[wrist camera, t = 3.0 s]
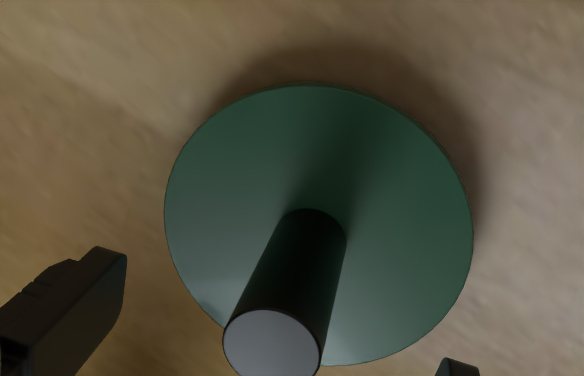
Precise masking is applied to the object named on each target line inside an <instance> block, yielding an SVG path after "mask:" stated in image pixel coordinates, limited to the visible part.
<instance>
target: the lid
mask: <svg viewBox="0 0 584 376" xmlns="http://www.w3.org/2000/svg"><path fill="white" fill-rule="evenodd" d="M164 225H165V234H166V239H167V244H168V248H169V251H170V254H171V257H172V260H173V263H174V266H175V268H176V270H177V272H178V274H179V276H180V278H181V280H182V282H183V283H184V285H185V287H186V288H187V290H188V291H189V293H190V294H191V296H192V297H193V298H194V299H195V301H196V302H197V303H198V304H199V306H200V307H201V308H202V309H203V310H204V311H205V312H206V313H207V314H208V315H209V316H210V317H211V318H212V319H213V320H214V321H215V322H216V323H217V324H219V325H220V326H221V327H222V328H223V329H224V332H223V337H222V344H223V350H224V354H225V356H226V358H227V361H228V362H229V364H230V365H231V367H232V368H233V369H234V370H235V371H236V372H237V373H238V374H239V375H240V376H314V375H315V374H316V373H317V371H318V369H319V367H320V366H345V365H354V364H360V363H367V362H370V361H374V360H377V359H381V358H384V357H387V356H389V355H392V354H394V353H396V352H399V351H401V350H403V349H405V348H406V347H408V346H410V345H412V344H413V343H415V342H417V341H418V340H419V339H421V338H422V337H423V336H425V335H426V334H427V333H429V332H430V331H431V330H432V329H433V328H434V327H435V326H436V325H437V324H438V323H439V322H440V321H441V320H442V319H443V318H444V317H445V315H446V314H447V313H448V311H449V310H450V309H451V307H452V306H453V305H454V303H455V302H456V300H457V298H458V296H459V294H460V292H461V291H462V289H463V287H464V284H465V281H466V278H467V276H468V273H469V270H470V265H471V260H472V255H473V241H474V229H473V221H472V212H471V208H470V204H469V201H468V197H467V194H466V190H465V186H464V184H463V182H462V180H461V177H460V175H459V173H458V171H457V168H456V167H455V165H454V163H453V162H452V160H451V159H450V157H449V155H448V154H447V152H446V151H445V149H444V148H443V147H442V146H441V145H440V143H439V142H438V141H437V140H436V139H435V137H434V136H433V135H432V134H431V133H430V132H429V131H428V130H427V129H426V128H425V127H424V126H422V125H421V124H420V123H419V122H418V121H417V120H416V119H415V118H413V117H412V116H410V115H409V114H407V113H406V112H405V111H403V110H402V109H400V108H399V107H397V106H396V105H394V104H392V103H390V102H388V101H386V100H384V99H382V98H380V97H378V96H376V95H373V94H370V93H368V92H365V91H362V90H359V89H356V88H353V87H348V86H343V85H338V84H334V83H323V82H292V83H284V84H279V85H274V86H269V87H265V88H262V89H259V90H257V91H254V92H251V93H248V94H246V95H244V96H242V97H240V98H238V99H236V100H234V101H232V102H230V103H229V104H227V105H226V106H224V107H223V108H222V109H220V110H219V111H217V112H216V113H215V114H213V115H212V116H211V117H209V118H208V119H207V120H206V121H205V122H204V123H203V124H202V125H201V126H200V127H199V128H198V129H197V130H196V131H195V132H194V133H193V135H192V136H191V137H190V138H189V140H188V141H187V142H186V144H185V145H184V146H183V148H182V150H181V152H180V154H179V155H178V157H177V159H176V161H175V163H174V166H173V168H172V171H171V174H170V176H169V179H168V184H167V189H166V193H165V203H164Z"/></svg>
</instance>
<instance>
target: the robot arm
mask: <svg viewBox="0 0 584 376" xmlns="http://www.w3.org/2000/svg"><path fill="white" fill-rule="evenodd" d="M126 269H127V256H126V255H125V254H122V253H119V252H116V251H112V250H109V249H106V248H103V247H100V246H95V247H94V248H92V249H91V250H90V251H89V252H88V253H87V254H86V255H85V256H84V257H82V258H81V259H80V260H79V261H75V260H72V259H67V260H64V261H62V262H59V263H57V264H55V265H52V266H50V267H48V268H47V269H46V270H44V271H43V272H42V273H41V274H40V275H39V276H37V277H36V278H35V279H34V281H33V282H30V283H29V284H28V285H27V286H26V287H25V288H23V289H22V292H21V293H20V292H19V293H17V294H16V295H15V296H14V297H13V298H12V299H10V300H9V301H8V302H7V303H6V304H5V305H3V306H2V307H1V308H0V376H74V375H75V374H76V373H77V372H78V370H79V369H80V368H81V367H82V365H83V364H84V363H85V362H86V360H87V359H88V358H89V357H90V356H91V354H92V353H93V352H94V351H95V349H96V348H97V347H98V346H99V344H100V343H101V342H102V341H103V339H104V338H105V337H106V336H107V334H108V333H109V332H110V331H111V329H112V328H113V327H114V325H115V323H116V321H117V319H118V317H119V314H120V312H121V308H122V303H123V295H124V286H125V278H126ZM435 376H480V374H479V370H478V368H477V367H475V366H472V365H469V364H465V363H462V362H459V361H456V360H453V359H450V358H447V357H445V358H444V359H443V360H442V362H441V363H440V365H439V368H438V370H437V372H436V374H435Z"/></svg>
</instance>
